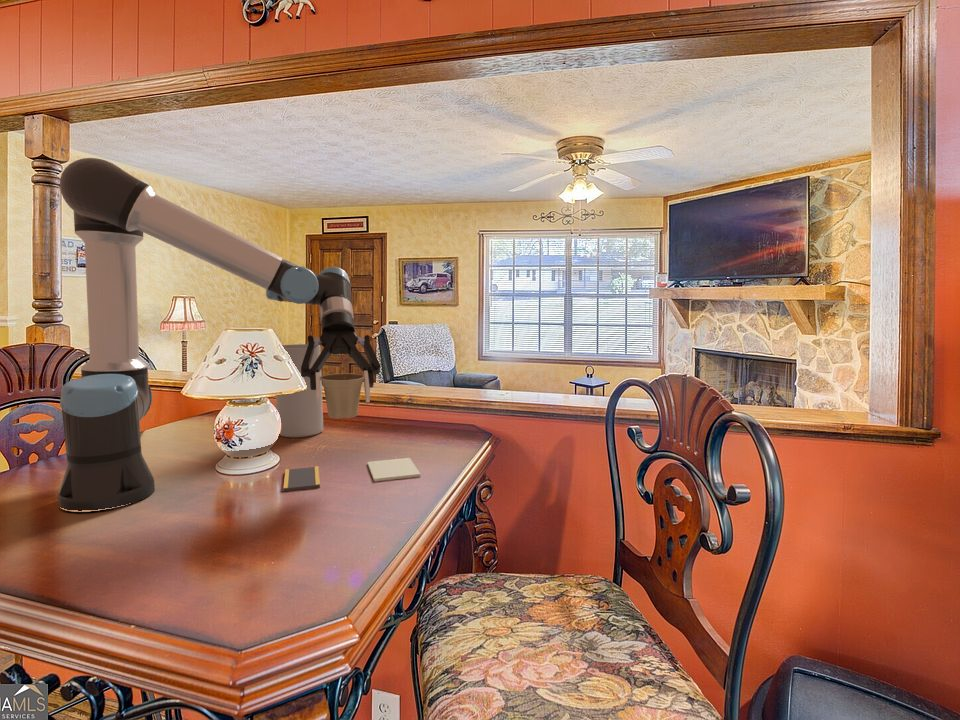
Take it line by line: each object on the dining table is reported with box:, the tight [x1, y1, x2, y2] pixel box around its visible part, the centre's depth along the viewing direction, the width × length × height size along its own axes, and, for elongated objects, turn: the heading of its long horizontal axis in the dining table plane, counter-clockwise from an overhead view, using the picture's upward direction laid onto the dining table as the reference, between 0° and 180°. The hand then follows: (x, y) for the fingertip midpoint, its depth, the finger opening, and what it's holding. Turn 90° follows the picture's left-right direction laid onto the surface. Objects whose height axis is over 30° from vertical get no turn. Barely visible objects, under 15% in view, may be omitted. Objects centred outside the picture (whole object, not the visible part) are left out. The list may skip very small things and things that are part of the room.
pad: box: [367, 457, 421, 482], centre depth 117 cm, size 10×12×1 cm
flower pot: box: [320, 372, 365, 420], centre depth 112 cm, size 9×9×9 cm
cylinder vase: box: [275, 343, 324, 439], centre depth 148 cm, size 12×12×25 cm
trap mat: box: [283, 465, 321, 492], centre depth 111 cm, size 7×12×1 cm, turn 19°
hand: (343, 399), depth 109 cm, fingers closed on flower pot, 9 cm apart
